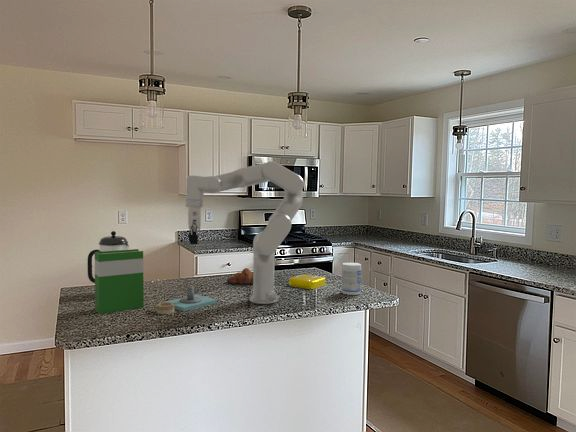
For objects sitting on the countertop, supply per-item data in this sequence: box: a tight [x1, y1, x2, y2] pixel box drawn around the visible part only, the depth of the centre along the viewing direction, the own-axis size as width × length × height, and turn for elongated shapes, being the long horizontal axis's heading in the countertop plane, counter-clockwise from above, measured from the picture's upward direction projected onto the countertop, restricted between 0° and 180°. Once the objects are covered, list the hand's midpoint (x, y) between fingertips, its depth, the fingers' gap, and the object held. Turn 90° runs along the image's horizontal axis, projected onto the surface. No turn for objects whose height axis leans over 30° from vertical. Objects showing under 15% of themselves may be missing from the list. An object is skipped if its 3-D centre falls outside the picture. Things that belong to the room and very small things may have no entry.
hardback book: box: [94, 248, 145, 315], centre depth 185 cm, size 18×7×24 cm, turn 125°
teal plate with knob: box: [164, 286, 218, 312], centre depth 194 cm, size 14×18×8 cm
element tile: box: [288, 273, 326, 290], centre depth 236 cm, size 15×15×5 cm
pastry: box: [226, 267, 253, 286], centre depth 239 cm, size 17×15×8 cm
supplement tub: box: [341, 262, 362, 296], centre depth 218 cm, size 10×10×15 cm
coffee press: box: [87, 230, 131, 284], centre depth 208 cm, size 17×16×30 cm
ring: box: [155, 301, 175, 315], centre depth 182 cm, size 7×7×3 cm
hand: (192, 242), depth 195 cm, fingers open, 9 cm apart
